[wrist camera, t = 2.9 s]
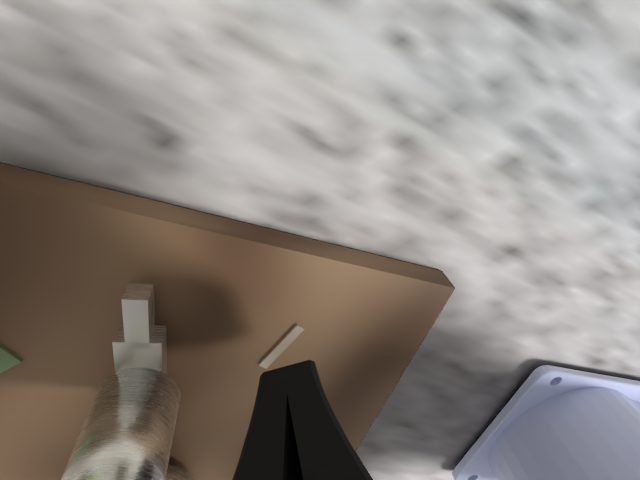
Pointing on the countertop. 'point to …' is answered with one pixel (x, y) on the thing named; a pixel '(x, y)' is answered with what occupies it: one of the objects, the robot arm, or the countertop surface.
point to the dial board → (186, 318)
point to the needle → (131, 404)
